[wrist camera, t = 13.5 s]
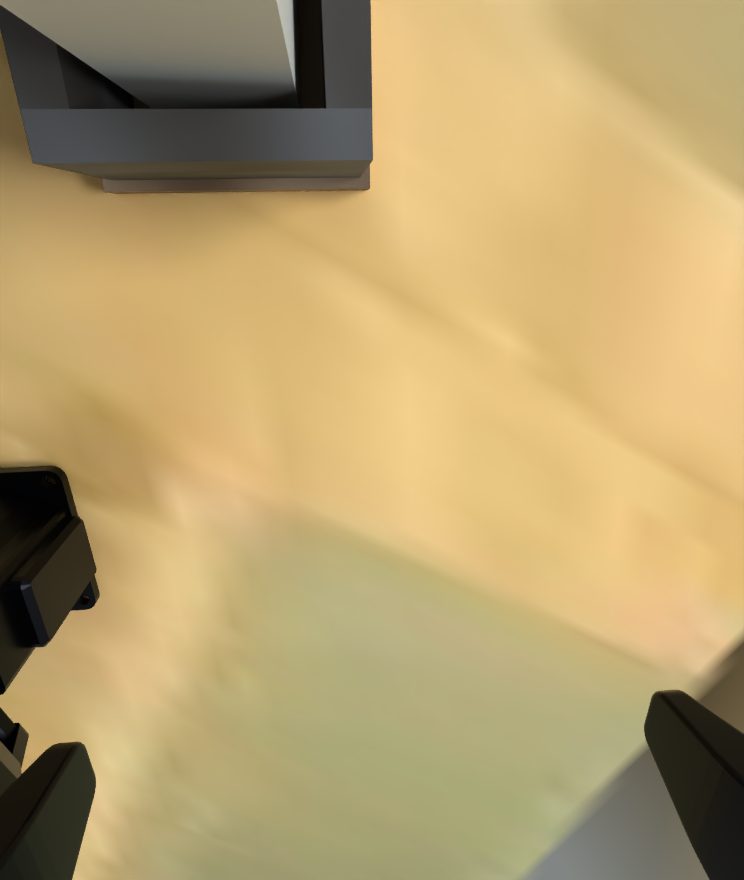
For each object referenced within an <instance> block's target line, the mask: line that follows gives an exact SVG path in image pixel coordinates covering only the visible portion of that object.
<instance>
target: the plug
mask: <svg viewBox="0 0 744 880" xmlns="http://www.w3.org/2000/svg"><path fill="white" fill-rule="evenodd" d="M0 5H1V6H3V7H4V8H6V9H7V10H9V11H10V12H12V13H13V14H14V15H16V16H17V17H19V18H20V19H22V20H23V21H25V22H26V23H28V24H29V25H31V26H32V27H33V28H35V29H36V30H38V31H39V32H41V33H42V34H44V35H45V36H47V37H48V38H50V39H51V40H52V41H54V42H55V43H57V44H58V45H60V46H61V47H63V48H64V49H66V50H67V51H69V52H70V53H72V54H73V55H74V56H76V57H77V58H79V59H80V60H82V61H83V62H85V63H86V64H88V65H89V66H91V67H92V68H93V69H95V70H96V71H98V72H99V73H101V74H102V75H104V76H105V77H107V78H108V79H110V80H111V81H112V82H114V83H115V84H117V85H118V86H120V87H121V88H123V89H124V90H126V91H127V92H129V93H130V94H132V95H133V96H134V97H136V98H137V99H139V100H140V101H142V102H143V103H145V104H146V105H148V106H149V107H151V108H152V109H302V98H301V57H300V16H299V0H0Z"/></svg>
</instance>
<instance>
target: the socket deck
mask: <svg viewBox="0 0 744 880" xmlns="http://www.w3.org/2000/svg"><path fill="white" fill-rule="evenodd" d="M299 16H300V57H301V98H302V109H152V108H151V107H149V106H148V105H146V104H145V103H143V102H142V101H140V100H139V99H137V98H136V97H134V96H133V95H132V94H130V93H129V92H127V91H126V90H124V89H123V88H121V87H120V86H118V85H117V84H115V83H114V82H112V81H111V80H110V79H108V78H107V77H105V76H104V75H102V74H101V73H99V72H98V71H96V70H95V69H93V68H92V67H91V66H89V65H88V64H86V63H85V62H83V61H82V60H80V59H79V58H77V57H76V56H74V55H73V54H72V53H70V52H69V51H67V50H66V49H64V48H63V47H61V46H60V45H58V44H57V43H55V42H54V41H52V40H51V39H50V38H48V37H47V36H45V35H44V34H42V33H41V32H39V31H38V30H36V29H35V28H33V27H32V26H31V25H29V24H28V23H26V22H25V21H23V20H22V19H20V18H19V17H17V16H16V15H14V14H13V13H12V12H10V11H9V10H7V9H6V8H4V7H3V6H1V5H0V29H1V33H2V37H3V41H4V46H5V50H6V54H7V58H8V62H9V66H10V70H11V74H12V78H13V83H14V87H15V91H16V95H17V99H18V103H19V107H20V111H21V116H22V120H23V124H24V128H25V132H26V136H27V140H28V144H29V149H30V153H31V157H32V161H33V163H34V164H39V165H44V166H48V167H53V168H58V169H62V170H67V171H71V172H76V173H81V174H85V175H90V176H95V177H99V178H101V179H102V184H103V189H104V192H109V193H116V194H124V193H197V192H270V191H342V190H368V189H369V188H370V163H371V162H372V160H373V142H372V74H371V6H370V0H299Z"/></svg>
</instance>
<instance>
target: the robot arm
mask: <svg viewBox="0 0 744 880" xmlns="http://www.w3.org/2000/svg"><path fill="white" fill-rule="evenodd" d="M47 477H51V478H53V479H54V480H55V482H56V484H54V483H51V482H49V481H48V480H47ZM95 573H96V566H95V562H94V559H93V555H92V551H91V548H90V544H89V540H88V537H87V533H86V529H85V526H84V522H83V520H82V519H81V518H80V517H79V516H78V514H77V510H76V507H75V503H74V500H73V496H72V492H71V489H70V485H69V482H68V478H67V476H66V474H65V472H64V471H63V470H62V469H60V468H58V467H55V466H39V467H19V468H0V695H1V694H3V693H4V692H5V691H6V690H7V688H8V687H9V685H10V684H11V682H12V681H13V679H14V678H15V677H16V675H17V674H18V672H19V671H20V669H21V668H22V666H23V665H24V663H25V662H26V661H27V659H28V658H29V656H30V655H31V653H32V652H33V650H34V649H35V647H45V646H46V645H47V644H48V643H49V642H50V641H51V639H52V638H53V636H54V635H55V633H56V632H57V630H58V629H59V627H60V626H61V624H62V623H63V621H64V620H65V618H66V617H67V615H68V614H69V612H70V611H71V610H86V609H90V608H92V607H93V606H94V605H95V603H96V602H97V600H98V598H99V590H98V586H97V582H96V579H95V575H94V574H95ZM82 595H85V596H87V597H88V598H89V599H88V598H84V597H82ZM644 732H645V737H646V741H647V743H648V746H649V748H650V750H651V753H652V755H653V757H654V760H655V762H656V764H657V767H658V769H659V771H660V774H661V776H662V778H663V780H664V783H665V785H666V788H667V790H668V792H669V794H670V797H671V799H672V801H673V804H674V806H675V808H676V811H677V813H678V815H679V818H680V820H681V822H682V825H683V827H684V829H685V831H686V834H687V836H688V838H689V840H690V842H691V844H692V847H693V848H694V850H695V853H696V854H697V856H698V858H699V860H700V862H701V864H702V866H703V868H704V870H705V872H706V874H707V876H708V877H709V879H710V880H744V733H742V732H741V731H739V730H738V729H736V728H735V727H734V726H732V725H731V724H729V723H728V722H726V721H725V720H723V719H722V718H721V717H719V716H718V715H716V714H715V713H714V712H712V711H711V710H709V709H708V708H706V707H705V706H704V705H702V704H700V703H699V702H698V701H696V700H695V699H694V698H692V697H691V696H689V695H688V694H686V693H685V692H683V691H680V690H665V691H657V692H655V693H654V694H653V696H652V698H651V702H650V706H649V709H648V713H647V717H646V720H645V724H644ZM28 737H29V734H28V733H27V732H26V730H25V729H24V728H23V727H22V726H21V725H20V724H19V723H13V721H12V720H11V719H10V718H9V717H8V716H7V714H6V713H5V712H4V711H3V710H2V709H1V708H0V880H72V878H73V874H74V870H75V866H76V862H77V859H78V855H79V851H80V847H81V843H82V840H83V836H84V832H85V828H86V824H87V821H88V817H89V813H90V809H91V805H92V802H93V798H94V794H95V788H96V778H95V774H94V771H93V768H92V765H91V762H90V759H89V756H88V753H87V750H86V747H85V745H84V744H82V743H81V742H69V743H58V744H55V745H53V746H51V747H50V748H48V749H47V750H46V751H45V752H44V753H43V754H42V755H41V756H40V757H39V758H38V759H37V760H36V761H35V762H34V763H33V764H32V765H31V766H30V767H29V768H28V769H27V770H26V771H24V772H23V773H21V767H22V763H23V758H24V754H25V750H26V745H27V741H28Z"/></svg>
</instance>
